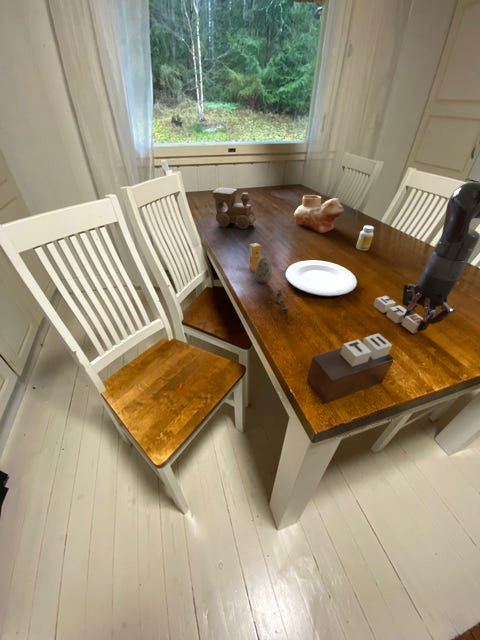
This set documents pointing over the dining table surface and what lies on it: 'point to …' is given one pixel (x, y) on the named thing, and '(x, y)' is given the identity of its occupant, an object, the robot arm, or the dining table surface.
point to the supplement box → (254, 255)
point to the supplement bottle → (365, 238)
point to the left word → (365, 349)
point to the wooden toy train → (232, 208)
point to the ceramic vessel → (318, 213)
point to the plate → (321, 278)
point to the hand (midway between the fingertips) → (413, 325)
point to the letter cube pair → (390, 308)
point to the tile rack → (344, 374)
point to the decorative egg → (263, 270)
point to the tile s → (412, 322)
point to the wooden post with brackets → (281, 300)
